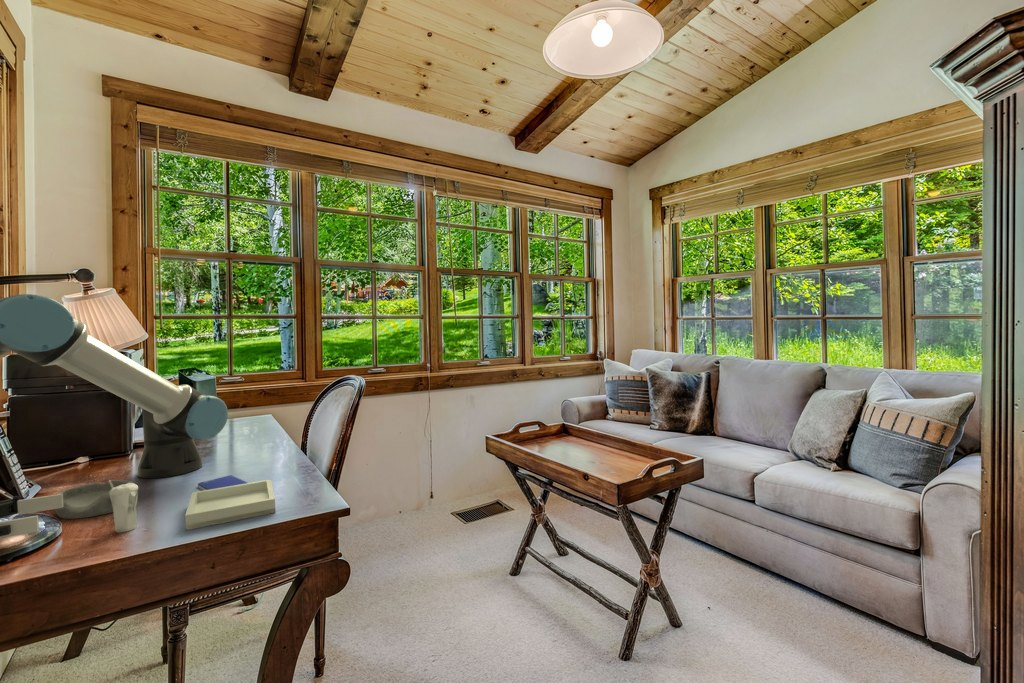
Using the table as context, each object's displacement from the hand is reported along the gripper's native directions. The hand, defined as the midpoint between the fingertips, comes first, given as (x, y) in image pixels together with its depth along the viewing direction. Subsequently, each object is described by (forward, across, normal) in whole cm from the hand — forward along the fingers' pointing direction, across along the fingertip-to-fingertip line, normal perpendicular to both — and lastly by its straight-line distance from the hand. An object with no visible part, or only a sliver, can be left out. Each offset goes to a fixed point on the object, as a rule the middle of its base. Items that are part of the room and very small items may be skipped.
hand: (51, 511), depth 91 cm
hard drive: (+28, -19, -7) cm, 34 cm away
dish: (+3, -19, -6) cm, 20 cm away
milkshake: (+11, 0, -6) cm, 12 cm away
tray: (+30, 0, -6) cm, 30 cm away
